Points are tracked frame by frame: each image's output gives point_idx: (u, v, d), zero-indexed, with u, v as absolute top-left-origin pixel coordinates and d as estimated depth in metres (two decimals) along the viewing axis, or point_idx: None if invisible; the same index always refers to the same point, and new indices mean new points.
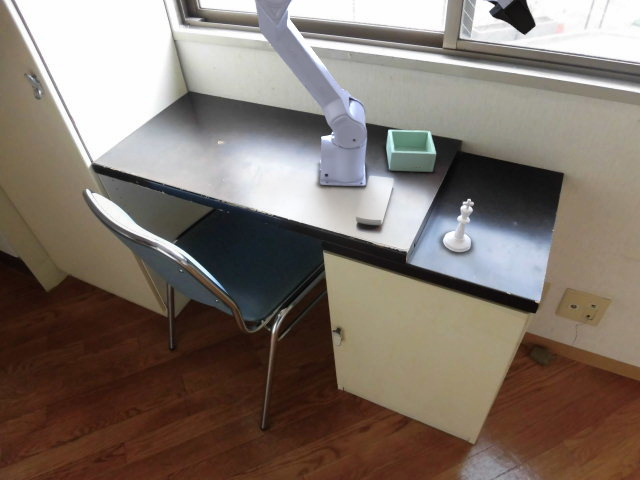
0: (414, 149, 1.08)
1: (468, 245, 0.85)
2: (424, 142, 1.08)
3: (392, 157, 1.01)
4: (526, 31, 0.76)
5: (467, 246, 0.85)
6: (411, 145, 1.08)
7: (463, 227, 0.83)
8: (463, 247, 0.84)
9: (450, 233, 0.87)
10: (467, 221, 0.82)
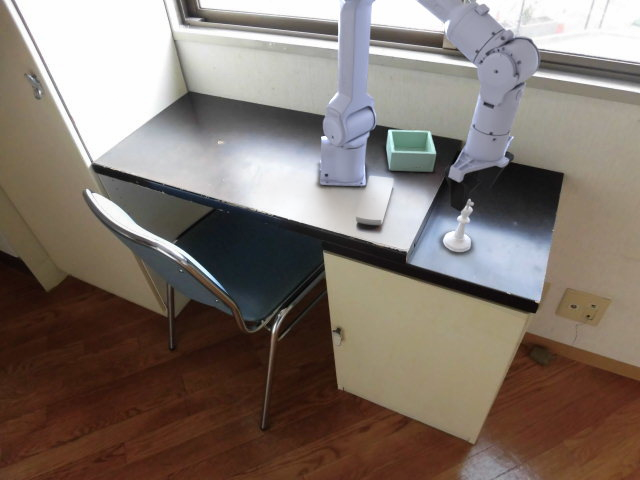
0: (414, 149, 1.08)
1: (468, 245, 0.85)
2: (424, 142, 1.08)
3: (392, 157, 1.01)
4: (453, 205, 0.77)
5: (467, 246, 0.85)
6: (411, 145, 1.08)
7: (463, 227, 0.83)
8: (463, 247, 0.84)
9: (450, 233, 0.87)
10: (467, 221, 0.82)
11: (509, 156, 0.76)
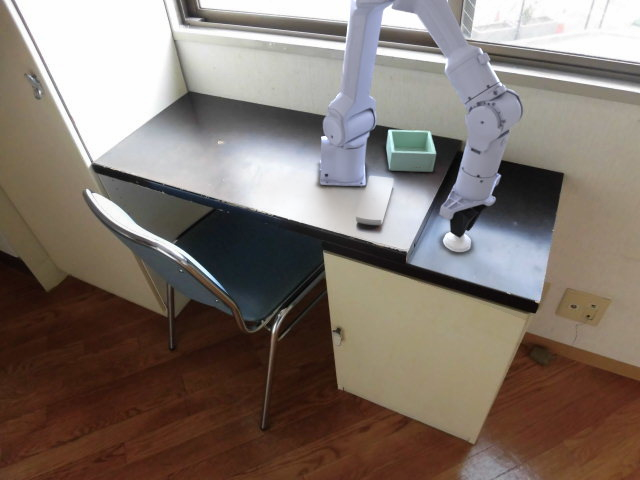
0: (414, 149, 1.08)
1: (468, 245, 0.85)
2: (424, 142, 1.08)
3: (392, 157, 1.01)
4: (452, 232, 0.84)
5: (467, 246, 0.85)
6: (411, 145, 1.08)
7: None
8: (463, 247, 0.84)
9: (450, 233, 0.87)
10: None
11: None
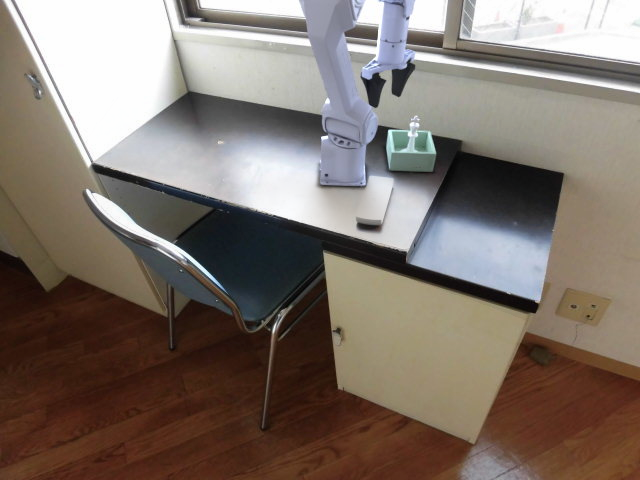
0: None
1: None
2: (424, 142, 1.08)
3: (392, 157, 1.01)
4: (370, 104, 1.02)
5: None
6: None
7: (413, 141, 1.03)
8: None
9: (404, 149, 1.06)
10: (415, 135, 1.01)
11: (411, 65, 1.01)
